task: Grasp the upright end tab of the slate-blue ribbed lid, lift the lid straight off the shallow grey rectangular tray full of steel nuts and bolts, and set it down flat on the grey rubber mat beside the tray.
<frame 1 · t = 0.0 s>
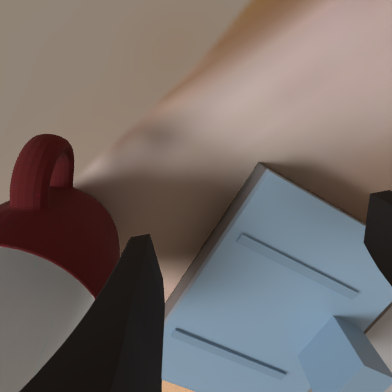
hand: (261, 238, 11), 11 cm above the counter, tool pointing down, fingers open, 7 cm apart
mug: (72, 200, 22), on the counter
lid: (271, 307, 23), point 2 cm above the counter, touching grey rectangular tray
grey rectangular tray: (264, 291, 25), on the counter
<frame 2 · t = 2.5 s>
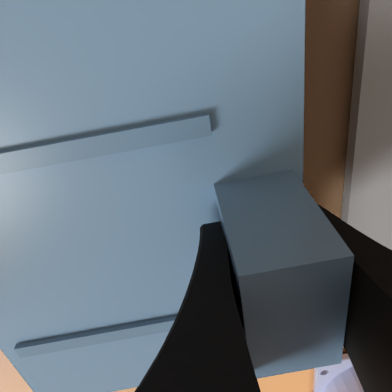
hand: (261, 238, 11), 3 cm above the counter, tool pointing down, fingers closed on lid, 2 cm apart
lid: (127, 231, 13), point 2 cm above the counter, touching gripper, grey rectangular tray
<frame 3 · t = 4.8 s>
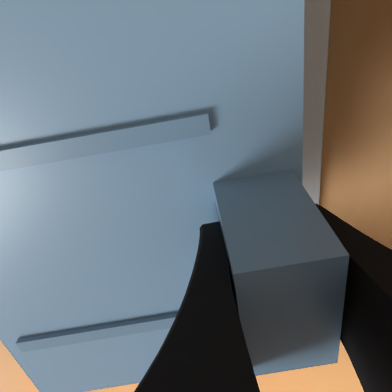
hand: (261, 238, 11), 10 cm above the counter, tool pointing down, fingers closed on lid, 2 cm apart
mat: (211, 129, 20), on the counter
lid: (128, 228, 13), point 9 cm above the counter, touching gripper
when the fingers open (4 cm above the counter, at t = 7.0 s): lid drops 2 cm, resting on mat.
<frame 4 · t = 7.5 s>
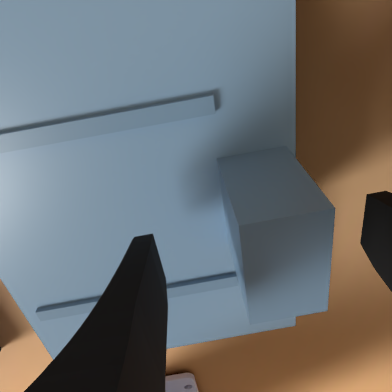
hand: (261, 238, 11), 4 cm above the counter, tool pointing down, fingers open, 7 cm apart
lid: (139, 204, 14), point 1 cm above the counter, touching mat
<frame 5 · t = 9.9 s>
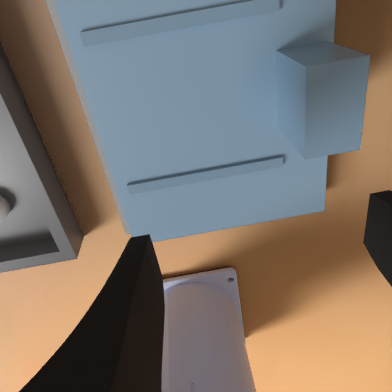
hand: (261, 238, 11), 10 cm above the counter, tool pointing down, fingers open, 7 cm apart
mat: (203, 96, 19), on the counter
lid: (210, 97, 18), point 1 cm above the counter, touching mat
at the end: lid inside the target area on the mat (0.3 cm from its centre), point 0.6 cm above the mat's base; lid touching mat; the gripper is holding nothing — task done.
